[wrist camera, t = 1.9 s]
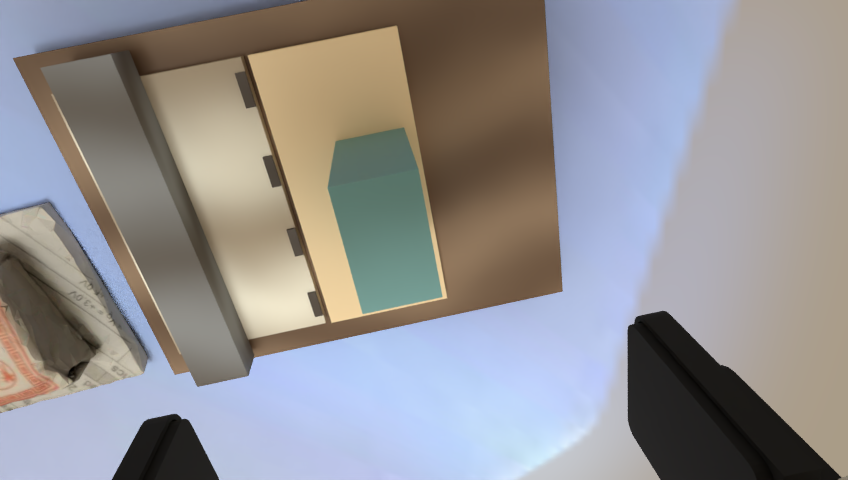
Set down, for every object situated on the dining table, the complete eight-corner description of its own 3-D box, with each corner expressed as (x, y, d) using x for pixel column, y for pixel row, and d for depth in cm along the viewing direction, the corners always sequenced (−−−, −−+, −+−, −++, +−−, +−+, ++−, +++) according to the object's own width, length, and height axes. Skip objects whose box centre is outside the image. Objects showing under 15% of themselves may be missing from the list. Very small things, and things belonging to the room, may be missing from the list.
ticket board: (35, 54, 21) (-25, 64, 18) (530, -43, 21) (560, -51, 18) (183, 356, 28) (160, 403, 25) (553, 277, 28) (577, 313, 25)
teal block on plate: (250, 54, 20) (205, 75, 14) (396, 25, 20) (410, 35, 15) (332, 317, 26) (323, 409, 20) (445, 293, 26) (470, 376, 20)
